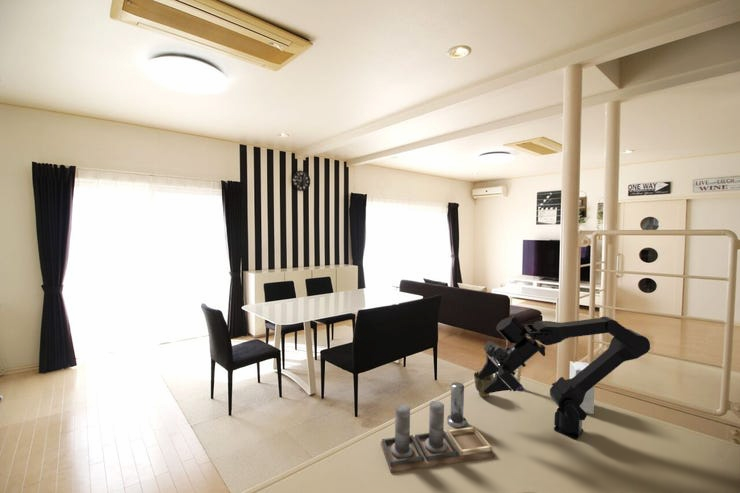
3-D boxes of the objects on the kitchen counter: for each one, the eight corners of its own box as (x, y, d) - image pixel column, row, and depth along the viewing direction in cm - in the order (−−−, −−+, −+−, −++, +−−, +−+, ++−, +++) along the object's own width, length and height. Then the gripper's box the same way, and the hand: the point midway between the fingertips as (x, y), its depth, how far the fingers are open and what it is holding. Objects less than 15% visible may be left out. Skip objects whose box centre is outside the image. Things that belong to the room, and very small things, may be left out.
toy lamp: (524, 386, 130) (526, 345, 129) (525, 392, 126) (527, 349, 125) (511, 384, 132) (512, 343, 131) (511, 390, 128) (513, 348, 126)
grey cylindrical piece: (469, 422, 107) (471, 385, 106) (459, 430, 103) (460, 392, 102) (454, 414, 112) (455, 378, 111) (443, 421, 108) (444, 384, 107)
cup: (497, 401, 120) (498, 380, 119) (477, 401, 120) (477, 379, 119) (490, 390, 127) (491, 370, 126) (471, 390, 127) (471, 370, 127)
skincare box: (594, 414, 112) (596, 372, 111) (573, 411, 114) (576, 369, 112) (586, 401, 120) (588, 361, 119) (567, 398, 122) (569, 359, 120)
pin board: (473, 431, 103) (475, 389, 102) (493, 456, 92) (495, 410, 91) (380, 444, 97) (380, 400, 96) (390, 472, 86) (391, 423, 85)
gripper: (493, 324, 113) (459, 354, 115) (509, 345, 94) (468, 380, 96) (517, 348, 112) (482, 377, 115) (537, 374, 94) (495, 408, 96)
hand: (481, 384), depth 105 cm, fingers open, 9 cm apart
